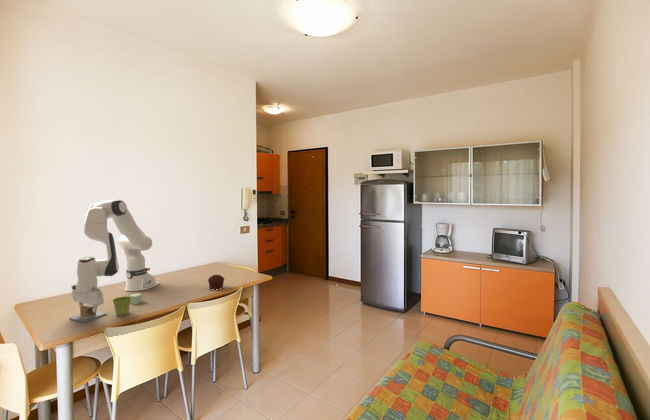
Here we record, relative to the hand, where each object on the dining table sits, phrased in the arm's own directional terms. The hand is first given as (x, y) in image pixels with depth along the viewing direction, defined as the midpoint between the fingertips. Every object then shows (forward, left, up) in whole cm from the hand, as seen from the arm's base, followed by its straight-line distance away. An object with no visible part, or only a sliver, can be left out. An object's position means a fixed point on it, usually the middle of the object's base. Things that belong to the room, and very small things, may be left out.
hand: (88, 310), depth 173 cm
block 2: (-26, +4, -4) cm, 27 cm away
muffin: (-68, +32, -4) cm, 75 cm away
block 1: (0, 0, -3) cm, 3 cm away
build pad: (0, 0, -4) cm, 4 cm away
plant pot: (-10, +13, -4) cm, 17 cm away
